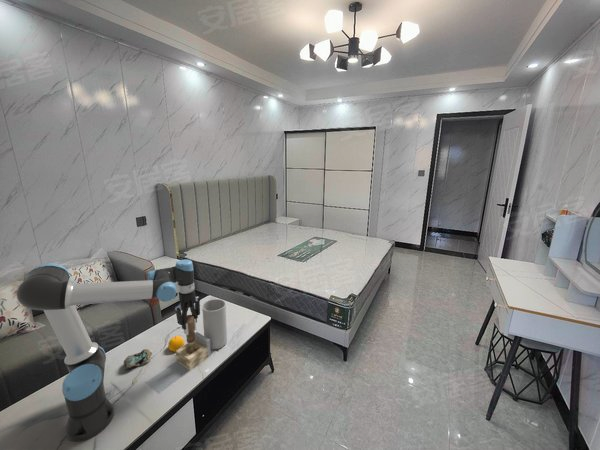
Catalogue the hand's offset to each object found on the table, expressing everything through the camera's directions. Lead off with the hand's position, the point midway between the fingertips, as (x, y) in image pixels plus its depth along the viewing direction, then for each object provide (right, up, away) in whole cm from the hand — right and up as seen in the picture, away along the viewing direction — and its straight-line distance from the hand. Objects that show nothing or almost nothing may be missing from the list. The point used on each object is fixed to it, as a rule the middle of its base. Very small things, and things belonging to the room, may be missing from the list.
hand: (190, 331), depth 135 cm
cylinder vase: (+7, -15, +19) cm, 25 cm away
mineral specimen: (-28, -18, +2) cm, 33 cm away
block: (-1, -17, +4) cm, 17 cm away
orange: (-13, -16, +13) cm, 24 cm away
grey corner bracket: (-4, -19, -1) cm, 20 cm away
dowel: (0, -5, +1) cm, 6 cm away
